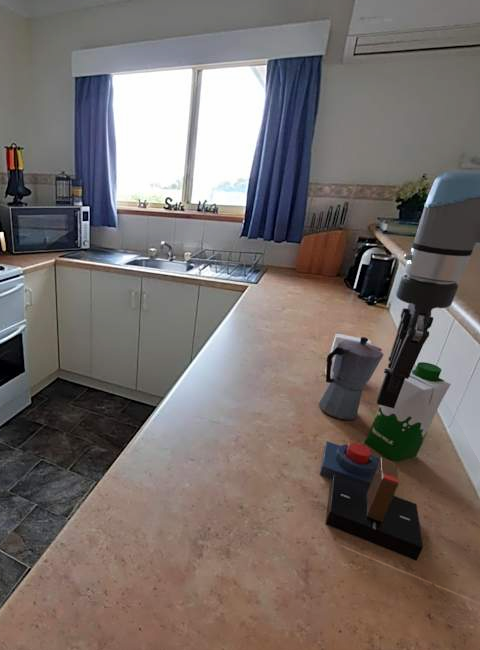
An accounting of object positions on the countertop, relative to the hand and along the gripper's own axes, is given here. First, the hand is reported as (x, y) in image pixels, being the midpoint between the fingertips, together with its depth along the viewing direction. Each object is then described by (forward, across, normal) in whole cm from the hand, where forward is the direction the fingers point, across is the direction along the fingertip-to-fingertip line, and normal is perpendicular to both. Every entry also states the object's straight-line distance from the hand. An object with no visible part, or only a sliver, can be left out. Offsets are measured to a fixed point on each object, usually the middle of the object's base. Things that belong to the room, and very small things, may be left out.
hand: (385, 404), depth 72 cm
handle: (+13, +13, +1) cm, 18 cm away
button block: (+16, +1, -2) cm, 16 cm away
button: (+12, +1, -2) cm, 13 cm away
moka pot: (+16, -22, -6) cm, 28 cm away
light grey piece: (+16, -44, -6) cm, 47 cm away
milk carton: (+16, -12, +5) cm, 21 cm away
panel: (+16, +13, +1) cm, 21 cm away
